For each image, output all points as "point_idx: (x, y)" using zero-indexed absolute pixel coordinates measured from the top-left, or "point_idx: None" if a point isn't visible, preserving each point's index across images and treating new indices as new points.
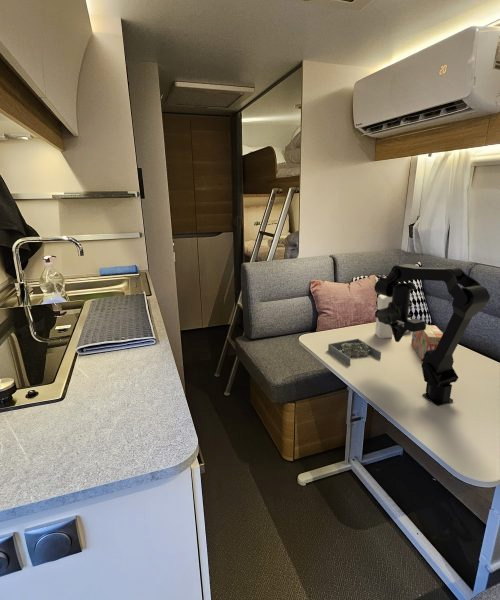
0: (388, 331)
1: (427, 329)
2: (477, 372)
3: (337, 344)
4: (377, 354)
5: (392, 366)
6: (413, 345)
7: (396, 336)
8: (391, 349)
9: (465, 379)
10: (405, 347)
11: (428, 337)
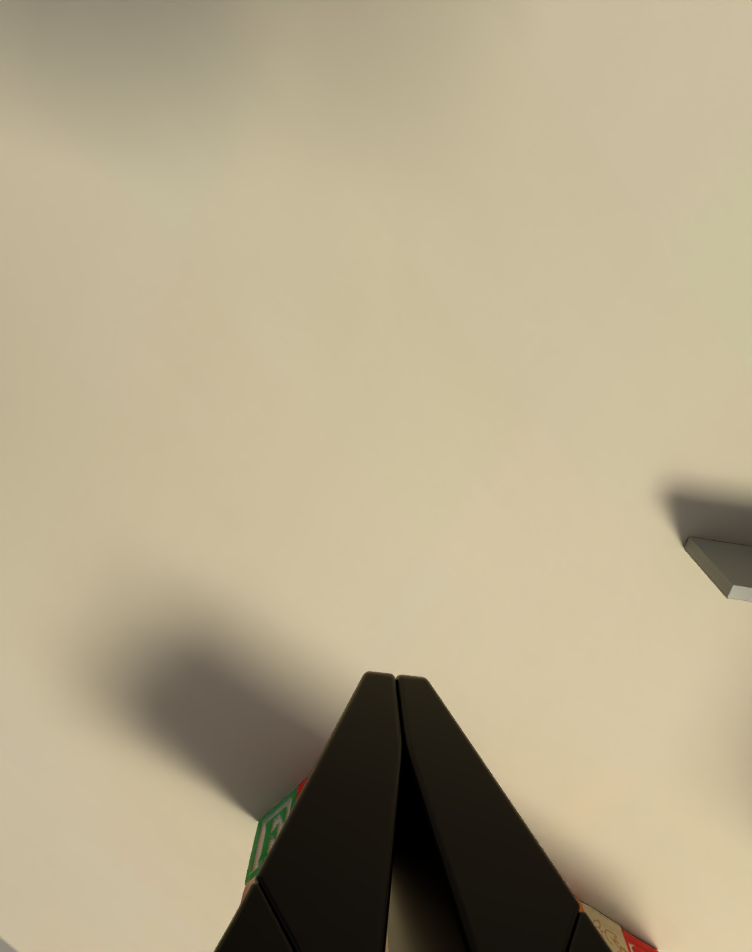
0: None
1: None
2: (73, 905)
3: None
4: (748, 563)
5: (494, 515)
6: (615, 931)
7: (362, 795)
8: (719, 772)
9: (20, 782)
10: (649, 872)
11: None
